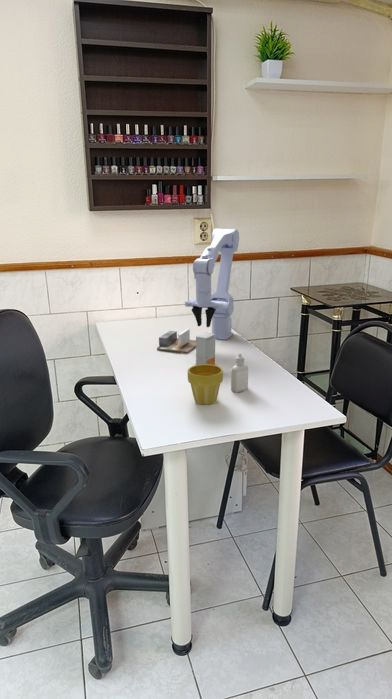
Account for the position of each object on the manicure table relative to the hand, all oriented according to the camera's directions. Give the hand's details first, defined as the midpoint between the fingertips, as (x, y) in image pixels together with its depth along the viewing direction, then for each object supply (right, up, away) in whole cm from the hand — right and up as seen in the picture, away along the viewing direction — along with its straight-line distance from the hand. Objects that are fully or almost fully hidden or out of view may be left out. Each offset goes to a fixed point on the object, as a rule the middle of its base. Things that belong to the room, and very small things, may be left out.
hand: (204, 326), depth 188 cm
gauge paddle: (-8, -7, +4) cm, 12 cm away
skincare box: (0, -15, -16) cm, 22 cm away
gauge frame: (-9, -8, +7) cm, 14 cm away
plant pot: (0, -24, -41) cm, 48 cm away
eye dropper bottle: (+11, -22, -34) cm, 42 cm away
